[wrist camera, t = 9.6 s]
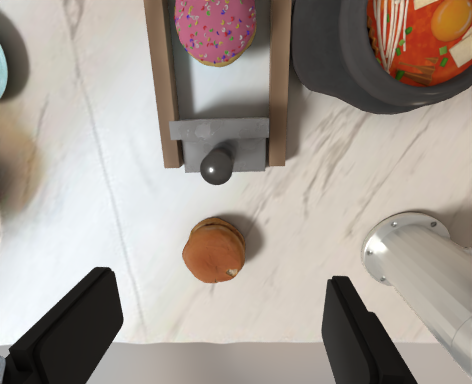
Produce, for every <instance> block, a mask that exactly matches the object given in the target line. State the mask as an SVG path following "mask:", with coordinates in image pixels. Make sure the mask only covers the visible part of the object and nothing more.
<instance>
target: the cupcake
mask: <svg viewBox="0 0 472 384" xmlns="http://www.w3.org/2000/svg"><path fill="white" fill-rule="evenodd" d="M174 7H175V16H174V20H175V25H176V29H177V34H178V35H179V40H180V42H181V44H182V45H183V47H184V48H185V50H186V51H187V52H188V53H189V54H190V55H191V56H193V57H194V58H195V59H196V60H198V61H199V62H201V63H202V64H204V65H207V66H215V67H224V66H227V65H229V64H231V63H233V62H234V61H235V60H237V59H238V58H239V57H240V56H241V55H242V54H243V52H244V51H245V50H246V49H247V48H248V47H249V46H250V45H251V43H252V41H253V39H254V36H255V33H256V25H257V24H256V13H257V12H255V11H256V10H255V1H254V0H176V4H175V6H174Z"/></svg>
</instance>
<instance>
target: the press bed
mask: <svg viewBox="0 0 472 384" xmlns="http://www.w3.org/2000/svg"><path fill="white" fill-rule="evenodd" d="M291 1H292V0H271V12H270V73H269V138H268V164H269V166H285V153H286V127H287V102H288V77H289V52H290V26H291ZM144 8H145V16H146V24H147V32H148V40H149V48H150V55H151V63H152V71H153V79H154V87H155V95H156V103H157V111H158V119H159V127H160V135H161V143H162V151H163V159H164V167H165V168H180V167H181V166H182V165H183V164H184V161H183V151H182V141H181V140H171V136H170V128H169V121H175V120H179V110H178V100H177V90H176V80H175V70H174V60H173V50H172V39H171V29H170V19H169V9H168V0H144Z"/></svg>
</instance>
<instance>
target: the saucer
mask: <svg viewBox="0 0 472 384" xmlns="http://www.w3.org/2000/svg"><path fill="white" fill-rule="evenodd" d="M7 80H8V67H7V61H6V57H5V54H4V52H3V49H2V46H1V44H0V98H1V96H2V95H3V93H4V91H5V88H6V85H7Z"/></svg>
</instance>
